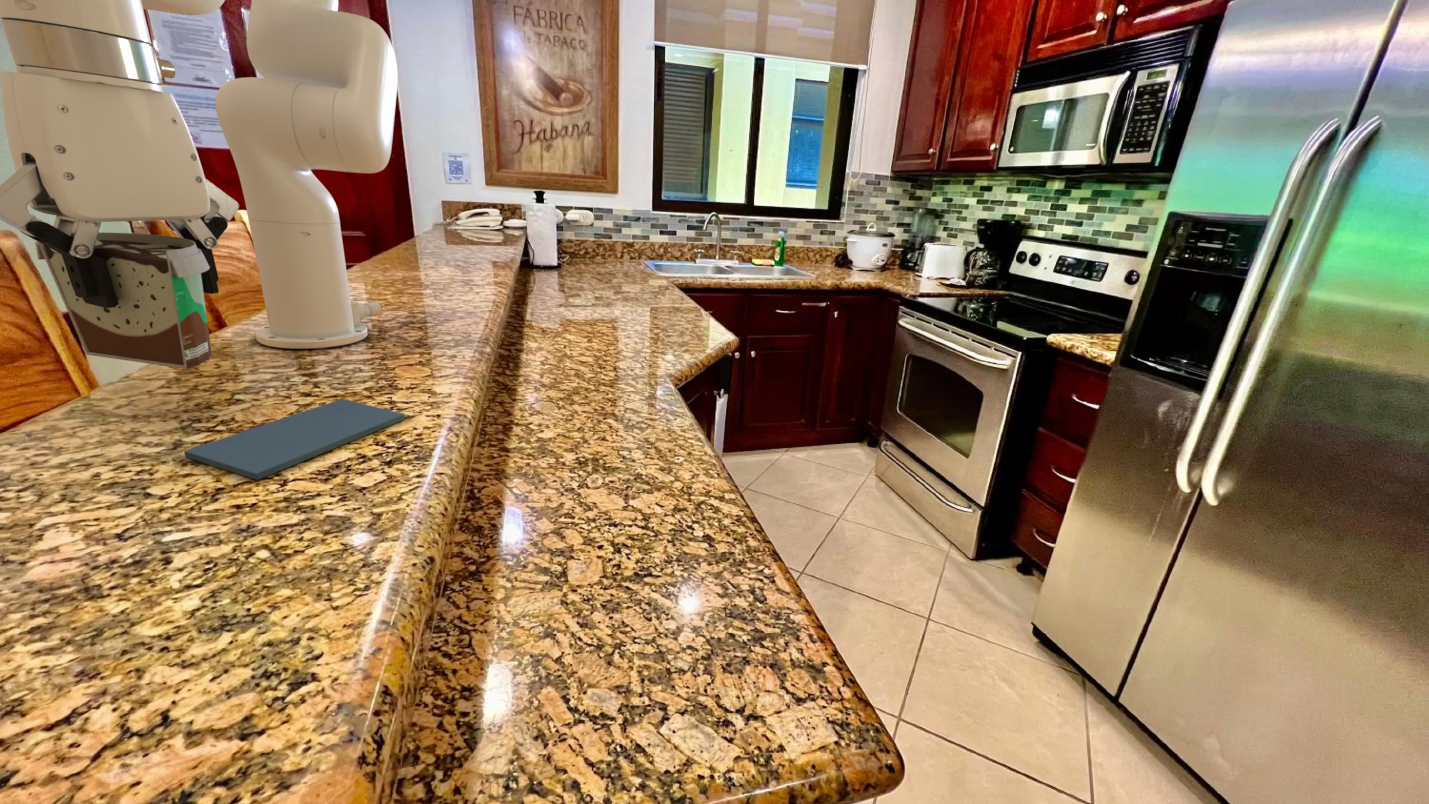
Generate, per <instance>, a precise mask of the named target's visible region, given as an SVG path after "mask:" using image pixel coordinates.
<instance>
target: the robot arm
mask: <svg viewBox="0 0 1429 804" xmlns="http://www.w3.org/2000/svg"><path fill="white" fill-rule="evenodd" d="M225 1H226V0H0V19H1V20H0V23H1V26H2V29H3V32H4V35H5V38H6V41H7V44H8V48H9V50H10V53H11V56H12V59H13V62H14V65H15V68H16V72H15V71H6V70H0V94H1V95H0V96H1V105H2V113H3V118H4V125H5V130H6V137H7V141H8V147H9V150H10V154H11V159H12V163H13V166H14V170H15V172H14V173H13V174H12V175H10V177H8V178H7V179H6V180H5V181H3V182H2V183H1V184H0V221H2V222H3V223H6V224H7V225H9V226H10V227H13V228H15V229H16V230H18V231H19V232H20V233H22V234H23V235H25V236H27V237H29V238H30V239H33V241H35V242H40V243H42V244H43V245H45V246H47V247H49V248H50V249H51V250H52V251H54V252H56V253H60V254H61V255H62V258H63V261H64V264H65V267H66V270H67V273H68V276H69V279H70V281H71V284H72V287H73V290H74V292H75V293H76V294H77V295H78V296H79V297H82V298H83V300H84V302H86V303H88V304H92V305H96V306H100V307H104V308H113V307H116V306H117V305H118V300H117V296H116V293H115V290H114V287H113V284H112V280H111V277H110V274H109V271H108V267H107V264H106V261H105V260H104V259H103V258H101V257H96V256H95V253H94V247H95V243H96V240H97V236H98V232H100V229H101V225H102V223H106V222H107V223H108V222H109V223H112V222H114V223H115V222H146V221H147V222H148V221H149V222H150V221H166V223H167V224H168V225H169V226H170V228H171V229H172V230H173V232H175V234H176V235H177V237H179V238H184V239H188V240H192V241H194V242H195V244H196V246H197V248H199V249H200V250H201V251H202V253H203V255H204V257H205V259H206V261H207V263H208V265H209V267H210V268H209V270H207V271H205V272H203V273H201V278H202V285H203V293H204V294H209V295H214V294H218V293H219V292H220V290H219V286H218V285H219V284H218V282H219V274H218V269H217V265H216V262H215V257H214V253H213V252H214V251H213V250H214V249H217V247H218V245H219V241H218V240H219V239H220V237H221V236H223V234H224V232H225V231H226V230H227V229H228V227H229V224H228V223H229V222H231V221H232V219H233V218H234V216H235V214H237V212H238V210H239V208H240V204H239V203H238V201H236V199H234V198H233V197H231V196H230V195H229V194H227V193H226V192H225V191H223V190H222V189H221V188H220V187H218V186H216V185H215V184H214V183H212V182H211V181H210V180H208V179H207V178H206V175H205V173H204V169H203V167H202V162H201V159H200V157H199V153H198V151H197V148H196V144H195V143H194V140H193V137H192V134H191V132H190V130H189V126H188V124H187V122H186V119H185V118H184V116H183V113H182V111H181V109H180V106H179V105H178V103H177V101H176V99H175V97H174V96H173V93H169V92H164V89H163V85H164V80H163V79H165V78H167V79H175V77H176V69H175V66H174V64H173V63H172V61H170V60H168V59H163V58H160V57H159V56H158V55H157V52H156V48H155V47H153V46H152V41H151V35H150V31H149V27H148V24H147V23H148V22H147V19H146V15H145V11H144V10H148V11H154V12H155V11H157V12H164V13H170V14H177V15H185V16H202V15H207V14H211V13H213V12H215V11H217V10H218V9H220V8H221V7H222V5H223V4H224V3H225ZM338 10H339V0H251V3H250V9H249V14H248V15H249V16H248V21H247V31H246V49H247V55H248V59H249V61H250V62H251V65H252V66H253V68H254V69H255V70H256V72H257V73H258V74H259V75H260V76H261V77H258V76H257V77H256V76H255V77H254V76H249V77H238V78H234V79H231V80H228V81H227V82H225V83H223V84H222V85H221V86H220V87H219V89H218V91H217V93H216V94H215V105H214V106H215V112H216V115H217V120H218V123H219V126H220V129H221V131H222V134H223V136H224V139H225V141H226V143H227V146H228V148H229V150H230V154H231V156H232V159H233V161H234V165H235V167H236V170H237V175H238V177H239V181H240V185H241V189H242V194H243V199H244V204H245V208H246V214H247V218H248V223H249V229H250V234H251V239H252V244H253V249H254V255H255V260H256V265H257V270H258V271H257V272H258V276H259V281H260V286H261V292H262V295H263V302H264V306H265V307H264V308H265V312H266V317H267V323H268V324H267V325H264V326H262V327H259V328H257V330H255V339H256V341H257V342H258V343H259V344H261V345H263V346H267V347H273V348H278V349H291V350H293V349H294V350H305V349H306V350H309V349H310V350H311V349H324V348H325V349H326V348H333V347H340V346H346V345H351V344H354V343H357V342H360V341H362V340H364V339H366V337H367V336H368V333H369V332H368V327H367V326H366V325H365V324H363V323H362V322H361V321H362V320H364V318H365V317H373V316H378V315H380V314H381V313H382V312H383V310H382V309H383V308H382V306H381V304H380V303H379V302H376V301H371V302H366V303H363V304H359V303H358V301H351V300H352V299H351V293H350V286H349V285H350V284H349V279H348V271H347V264H346V256H345V250H344V243H343V242H344V241H343V236H342V229H341V220H340V214H339V208H338V205H337V204H336V201H335V200H334V197H333V196H332V194H331V193H330V192H329V190H328V189H327V188H326V186H324V184H323V183H322V182H321V181H320V180H319V179H318V178H317V177H316V175H315V174H314V173H313V171H312V170H322V171H323V170H325V171H333V172H334V171H335V172H343V173H357V174H376V173H379V172H381V171H383V170H384V169H385V168H386V167H387V165H388V164H389V161H390V158H391V154H392V148H393V147H392V146H393V137H394V127H395V115H396V108H397V107H396V106H397V94H398V65H397V57H396V54H395V50H394V46H393V44H392V42H391V40H390V38H389V36H388V34H387V33H386V31H385V30H384V29H383V28H382V26H380V24H378V23H377V22H376V21H374V20H373V19H370V18H368V17H366V16H364V15H359V14H355V13H350V12H345V11H340V10H339V11H338ZM28 206H29V207H30V209H32V210H34V211H36V212H39V213H42V214H46V215H52V216H55V220H54V222H53V225H52V224H50V223H48V222H45V221H43V220H42V219H40V218H39V217H37V216H36V215H35V214H33V213H31V212H30V211H29V209H28Z"/></svg>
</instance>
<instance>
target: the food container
mask: <svg viewBox="0 0 1429 804" xmlns="http://www.w3.org/2000/svg"><path fill="white" fill-rule="evenodd" d="M34 243H35V249H36V254H37V260H39V261H40V260H41V261H42V260H45V262H46V264H47V266H48V269H49V272H50V274H51V276H52V278H53V281H54V283H55V285H56V287H57V290H58V292H59V294H60V297H61V299H62V301H63V304H64V306H65V308H66V311H67V313H68V316H69V318H70V321H71V322H72V325H73V327H74V329H75V331H76V334H77V336H78V338H79V341H80V343H81V346H82V348H83V350H84V352H85V355H86V356H92V357H100V358H107V359H114V360H119V361H121V360H122V361H128V362H135V363H141V364H149V365H156V366H163V367H168V368H169V367H171V368H176V369H177V368H178V369H184V370H188V369H191V368H194V367H197V366H200V365H201V364H203V363H205V362H207V361H209V360H210V358H211V356H212V355H213V353H212V346H211V338H210V331H209V324H208V315H207V311H206V310H207V309H206V302H205V301H206V300H205V293H204V292H203V285H202V278H201V273H203V272H205V271H207V270H209V268H210V267H209V265H208V263H207V261H206V259H205V257H204V255H203V253H202V251H201V250H200V249H199V248H197V246H196V244H195V242H194V241H192V240H188V239H184V238H180V237H179V236H171V235H162V234H148V233H134V232H133V233H132V232H101V231H99V232H98V236H97V240H96V243H95V247H94V253H95V256H96V257H101V258H103V259H104V260H105V261H106V264H107V267H108V271H109V274H110V277H111V280H112V284H113V287H114V290H115V293H116V296H117V300H118V305H117V306H116V307H113V308H104V307H100V306H96V305H92V304H88V303H86V302H84V300H83V298H82V297H79V296H78V295H77V294H76V293H75V292H74V290H73V287H72V284H71V281H70V279H69V276H68V273H67V270H66V267H65V264H64V261H63V258H62V255H61V254H60V253H56V252H54V251H52V250H51V249H50V248H49V247H47V246H45V245H43V244H42V243H40V242H38V241H35V242H34Z"/></svg>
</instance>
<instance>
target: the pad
mask: <svg viewBox="0 0 1429 804" xmlns="http://www.w3.org/2000/svg"><path fill="white" fill-rule="evenodd" d="M405 417H406V416H405V414H404V413H401V412H397V411H393V410H389V409H385V408H381V407H377V406H373V405H369V404H365V403H361V402H358V401H354V400H349V399H346V398H340V399H338V400H333V401H332V402H328V403H326V404H325V403H324V404H322V405H319V406H317V407H313V408H311V409H307V410H304V411H301V412H297V413H295V414H292V415H289V416H286V417H283V418H280V419H277V420H274V421H271V422H268V423H265V424H262V425H258V426H256V427H253V428H250V429H247V430H243V431H240V432H238V433H235V434H232V435H228V436H225V437H223V438H219V439H216V440H214V441H210V442H207V443H205V444H201V445H198V446H196V447H192V448H190V449H186V450H184V451H183V452H184V456H185V458H187V459H189V460H192V461H196V462H198V463H202V464H206V465H209V466H212V467H215V468H218V469H221V470H224V471H228V472H231V473H234V474H237V475H240V476H243V477H247V478H249V479H252V480H255V481H259V480H261V479H263V478H266V477H269V476H271V475H273V474H276V473H279V472H280V471H281V472H282V471H284V470H285V469H288V468H290V467H293V466H295V465H298V464H301V463H302V462H305V461H307V460H309V459H312V458H315V457H317V456H320V455H322V454H324V453H326V452H330V451H332V450H335V449H336V448H339V447H341V446H344V445H346V444H349V443H351V442H354V441H355V440H356V441H357V440H358V439H361V438H363V437H366V436H368V435H370V434H373V433H375V432H377V431H381V430H382V429H386V428H387V427H390V426H392V425H394V424H397V423H399V422H402V421H404V420H406V419H405Z"/></svg>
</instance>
